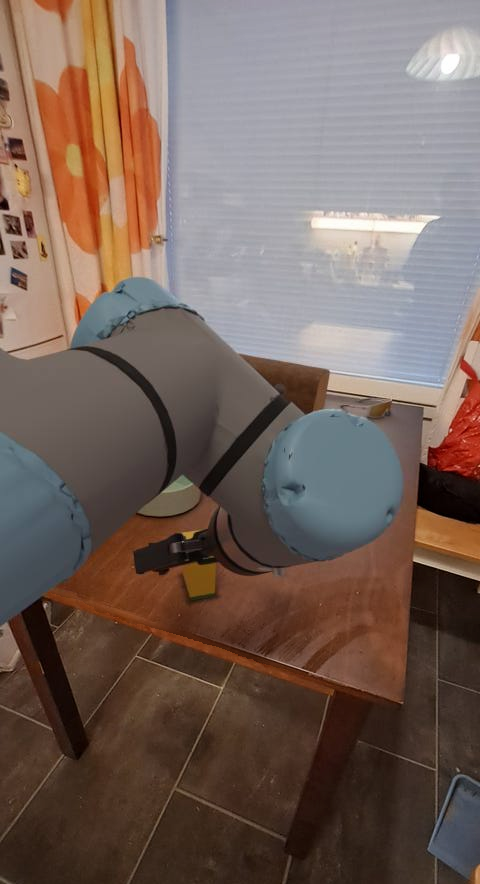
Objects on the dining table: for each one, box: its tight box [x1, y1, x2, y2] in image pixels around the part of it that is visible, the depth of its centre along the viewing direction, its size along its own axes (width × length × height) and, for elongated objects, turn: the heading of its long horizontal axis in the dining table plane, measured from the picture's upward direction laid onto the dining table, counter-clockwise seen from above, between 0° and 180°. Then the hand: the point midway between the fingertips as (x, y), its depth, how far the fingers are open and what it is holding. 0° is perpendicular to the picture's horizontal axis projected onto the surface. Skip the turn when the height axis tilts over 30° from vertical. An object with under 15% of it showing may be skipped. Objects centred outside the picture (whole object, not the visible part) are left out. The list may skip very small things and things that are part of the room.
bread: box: [237, 352, 331, 415], centre depth 138 cm, size 14×34×14 cm, turn 65°
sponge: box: [181, 529, 217, 602], centre depth 66 cm, size 4×6×9 cm, turn 18°
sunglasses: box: [340, 397, 393, 419], centre depth 142 cm, size 14×15×5 cm
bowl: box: [136, 475, 202, 518], centre depth 88 cm, size 16×16×6 cm
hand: (211, 556), depth 55 cm, fingers open, 13 cm apart
